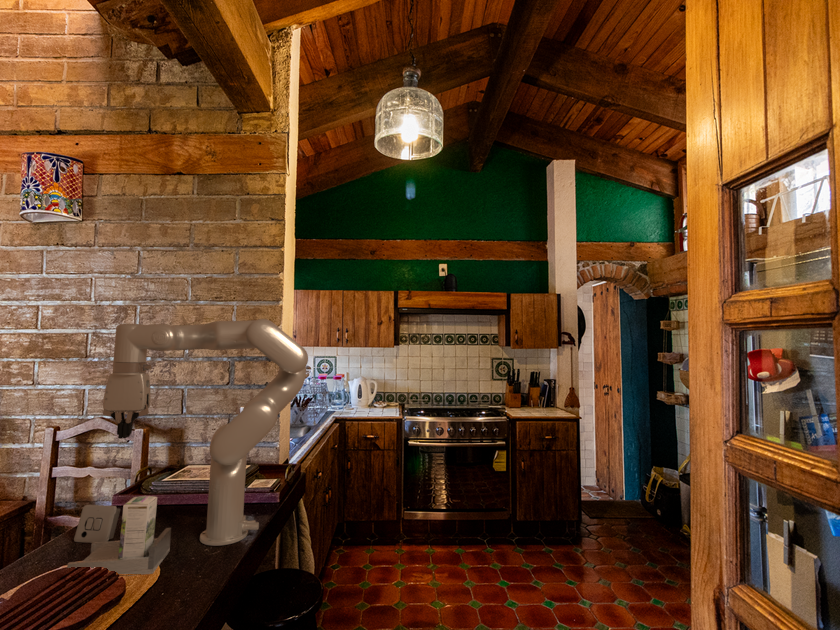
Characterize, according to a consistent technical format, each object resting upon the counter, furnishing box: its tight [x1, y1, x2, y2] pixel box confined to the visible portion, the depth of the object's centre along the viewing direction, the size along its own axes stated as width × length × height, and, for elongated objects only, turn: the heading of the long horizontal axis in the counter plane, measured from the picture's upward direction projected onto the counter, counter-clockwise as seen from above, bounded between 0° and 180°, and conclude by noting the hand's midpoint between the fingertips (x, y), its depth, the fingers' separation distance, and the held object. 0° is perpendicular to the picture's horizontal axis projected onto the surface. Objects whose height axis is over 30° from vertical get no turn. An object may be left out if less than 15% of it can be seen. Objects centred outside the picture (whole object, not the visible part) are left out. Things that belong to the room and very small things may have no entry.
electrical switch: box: [73, 504, 121, 544], centre depth 122 cm, size 9×5×9 cm, turn 86°
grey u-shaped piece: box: [66, 527, 172, 575], centre depth 108 cm, size 18×12×6 cm, turn 103°
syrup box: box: [118, 495, 158, 559], centre depth 109 cm, size 6×6×14 cm
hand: (124, 437), depth 118 cm, fingers closed
